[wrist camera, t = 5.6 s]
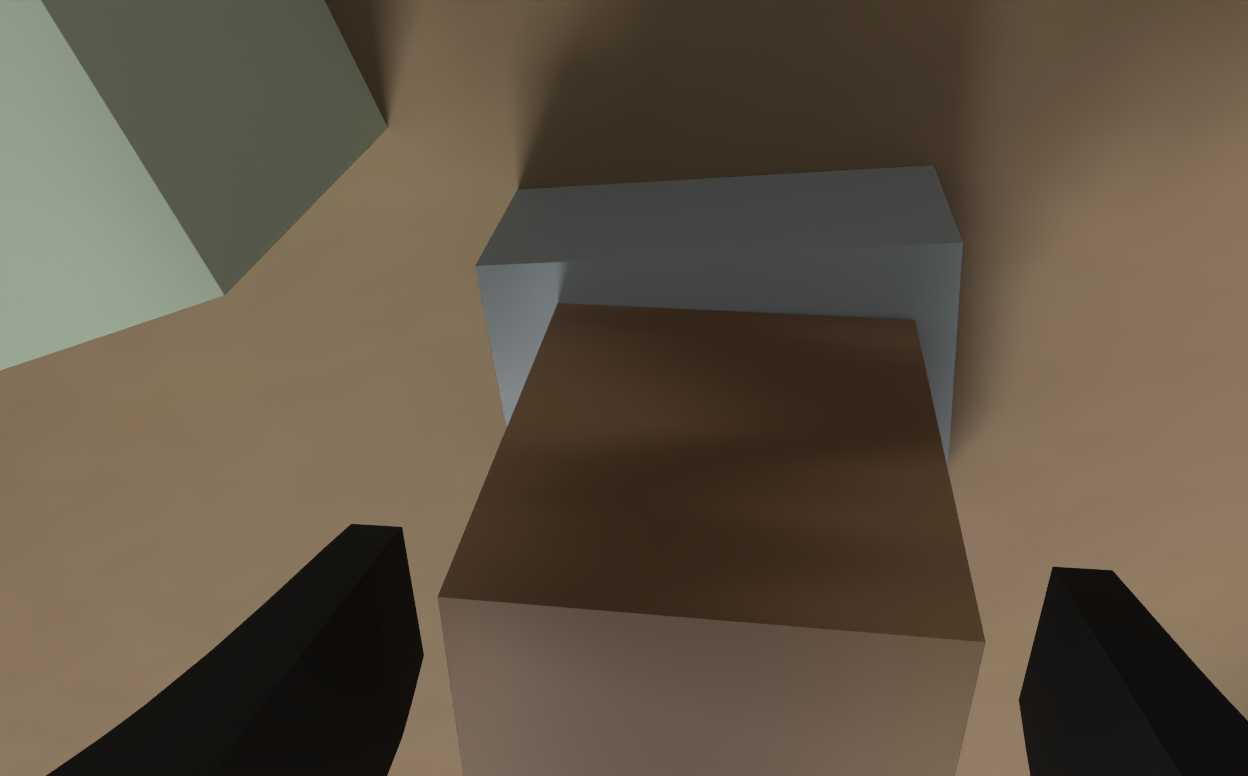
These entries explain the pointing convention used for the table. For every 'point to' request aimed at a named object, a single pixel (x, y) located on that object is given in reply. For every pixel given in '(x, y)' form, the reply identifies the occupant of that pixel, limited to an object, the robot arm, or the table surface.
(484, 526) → the walnut block
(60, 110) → the sage block
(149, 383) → the table surface
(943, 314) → the slate slab
